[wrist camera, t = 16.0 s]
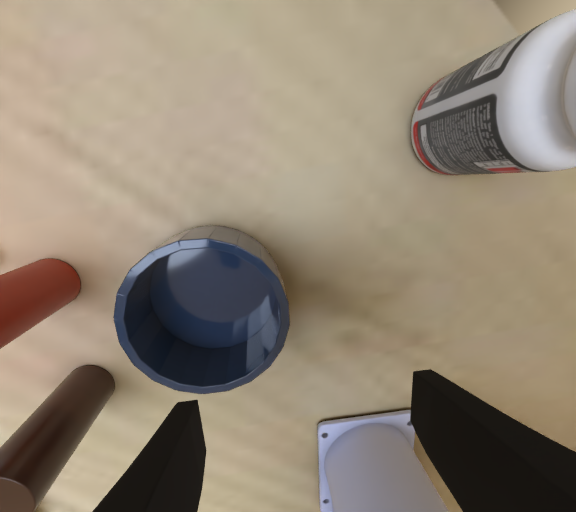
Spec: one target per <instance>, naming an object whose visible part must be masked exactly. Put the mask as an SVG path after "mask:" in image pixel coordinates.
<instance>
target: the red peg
mask: <svg viewBox="0 0 576 512" xmlns="http://www.w3.org/2000/svg"><path fill="white" fill-rule="evenodd" d="M79 291H80V279H79V276H78V274H77V273H76V271H75V270H74V269H73V268H72V267H71V266H70V265H68V264H67V263H65V262H63V261H60V260H56V259H42V260H39V261H36V262H34V263H31V264H28V265H26V266H23V267H21V268H18V269H15V270H13V271H10V272H7V273H5V274H2V275H0V349H1V348H2V347H4V346H5V345H7V344H8V343H10V342H11V341H13V340H14V339H16V338H17V337H19V336H20V335H22V334H23V333H25V332H26V331H28V330H29V329H31V328H32V327H34V326H35V325H37V324H38V323H40V322H41V321H43V320H44V319H46V318H47V317H49V316H50V315H52V314H53V313H54V312H56V311H57V310H59V309H60V308H62V307H63V306H65V305H66V304H68V303H69V302H71V301H72V300H74V299H75V298H76V297H77V295H78V293H79Z"/></svg>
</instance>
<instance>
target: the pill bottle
mask: <svg viewBox="0 0 576 512" xmlns="http://www.w3.org/2000/svg"><path fill="white" fill-rule="evenodd" d="M411 140H412V144H413V148H414V150H415V153H416V155H417V157H418V158H419V159H420V161H421V162H422V163H423V164H424V165H425V166H426V167H427V168H429V169H431V170H432V171H434V172H437V173H440V174H446V175H467V174H496V173H519V172H549V171H559V170H565V169H570V168H573V167H576V9H574V10H571V11H568V12H566V13H563V14H560V15H558V16H556V17H554V18H552V19H550V20H548V21H546V22H544V23H542V24H540V25H538V26H536V27H535V28H533V29H531V30H529V31H528V32H526V33H524V34H522V35H520V36H518V37H516V38H515V39H513V40H511V41H509V42H507V43H505V44H504V45H502V46H500V47H498V48H496V49H494V50H493V51H491V52H489V53H487V54H485V55H484V56H482V57H480V58H478V59H476V60H474V61H473V62H471V63H469V64H467V65H465V66H463V67H462V68H460V69H458V70H456V71H454V72H453V73H451V74H449V75H447V76H445V77H443V78H442V79H440V80H439V81H437V82H436V83H435V84H433V85H432V86H431V87H430V88H429V89H428V90H427V91H426V92H425V94H424V95H423V96H422V98H421V99H420V101H419V103H418V105H417V107H416V109H415V112H414V115H413V118H412V123H411Z"/></svg>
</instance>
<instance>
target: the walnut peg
mask: <svg viewBox="0 0 576 512" xmlns="http://www.w3.org/2000/svg"><path fill="white" fill-rule="evenodd" d="M114 387H115V384H114V380H113V378H112V376H111V375H110V374H109V373H108V372H107V371H106V370H104V369H102V368H100V367H97V366H82V367H79V368H77V369H75V370H74V371H72V372H71V373H70V374H69V376H68V377H67V378H66V379H65V380H64V381H63V382H62V383H61V384H60V385H59V386H58V387H57V388H56V389H55V390H54V391H53V392H52V394H51V395H50V396H49V397H48V398H47V399H46V400H45V401H44V402H43V403H42V404H41V405H40V406H39V407H38V408H37V409H36V410H35V412H34V413H33V414H32V415H31V416H30V417H29V418H28V419H27V420H26V421H25V422H24V423H23V424H22V425H21V426H20V427H19V428H18V430H17V431H16V432H15V433H14V434H13V435H12V436H11V437H10V438H9V439H8V440H7V441H6V442H5V443H4V444H3V445H2V446H1V447H0V512H34V511H35V510H36V508H37V507H38V505H39V504H40V502H41V501H42V499H43V498H44V496H45V495H46V493H47V492H48V490H49V489H50V487H51V486H52V484H53V483H54V481H55V480H56V478H57V477H58V475H59V474H60V472H61V471H62V469H63V467H64V466H65V464H66V463H67V461H68V460H69V458H70V457H71V455H72V454H73V452H74V451H75V449H76V448H77V446H78V445H79V443H80V442H81V440H82V439H83V437H84V436H85V434H86V433H87V431H88V430H89V428H90V427H91V425H92V424H93V422H94V421H95V419H96V418H97V416H98V415H99V413H100V412H101V410H102V409H103V407H104V405H105V404H106V402H107V401H108V399H109V398H110V396H111V395H112V393H113V391H114Z"/></svg>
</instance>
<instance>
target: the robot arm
mask: <svg viewBox="0 0 576 512" xmlns="http://www.w3.org/2000/svg"><path fill="white" fill-rule="evenodd" d="M317 430H318V465H319V500H320V510H321V512H449V511H448V509H447V507H446V505H445V504H444V502H443V500H442V499H441V497H440V495H439V493H438V492H437V490H436V488H435V487H434V485H433V483H432V481H431V480H430V478H429V476H428V475H427V473H426V471H425V470H424V468H423V466H422V464H421V463H420V461H419V459H418V458H417V456H416V454H415V452H414V451H413V450H414V438H415V432H416V434H417V436H418V438H419V440H420V442H421V444H422V446H423V448H424V450H425V452H426V454H427V455H428V457H429V458H430V460H431V462H432V463H433V465H434V466H435V468H436V470H437V471H438V473H439V474H440V476H441V478H442V479H443V481H444V482H445V484H446V485H447V487H448V489H449V490H450V492H451V493H452V495H453V496H454V498H455V500H456V501H457V503H458V504H459V506H460V507H461V509H462V511H463V512H576V452H575V451H572V450H570V449H568V448H566V447H564V446H563V445H561V444H559V443H557V442H555V441H553V440H551V439H549V438H547V437H545V436H544V435H542V434H540V433H538V432H536V431H534V430H533V429H531V428H529V427H527V426H525V425H523V424H522V423H520V422H518V421H516V420H515V419H513V418H511V417H509V416H508V415H506V414H504V413H503V412H501V411H499V410H497V409H496V408H494V407H492V406H491V405H489V404H487V403H486V402H484V401H482V400H481V399H479V398H477V397H476V396H474V395H472V394H471V393H469V392H468V391H466V390H464V389H463V388H461V387H459V386H458V385H456V384H455V383H453V382H451V381H450V380H448V379H446V378H445V377H443V376H441V375H440V374H438V373H436V372H434V371H432V370H431V369H430V370H422V371H414V372H413V385H412V400H411V410H403V411H396V412H389V413H381V414H374V415H367V416H359V417H352V418H345V419H338V420H330V421H323V422H321V423H319V424H318V427H317ZM323 433H325V434H323ZM205 458H206V446H205V441H204V435H203V429H202V423H201V417H200V412H199V406H198V400H192V401H185V402H178V403H177V404H176V405H175V406H174V408H173V409H172V410H171V412H170V413H169V414H168V416H167V417H166V419H165V420H164V421H163V423H162V424H161V426H160V427H159V428H158V430H157V431H156V432H155V434H154V435H153V436H152V438H151V439H150V441H149V442H148V443H147V445H146V446H145V447H144V448H143V450H142V451H141V452H140V454H139V455H138V456H137V458H136V459H135V460H134V461H133V463H132V464H131V465H130V467H129V468H128V469H127V471H126V472H125V473H124V474H123V476H122V477H121V478H120V479H119V480H118V482H117V483H116V484H115V485H114V486H113V488H112V489H111V490H110V491H109V492H108V494H107V495H106V496H105V497H104V498H103V500H102V501H101V502H100V503H99V505H98V506H97V507H96V508H95V509H94V510H93V512H197V510H198V505H199V501H200V496H201V491H202V484H203V476H204V467H205Z"/></svg>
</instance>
